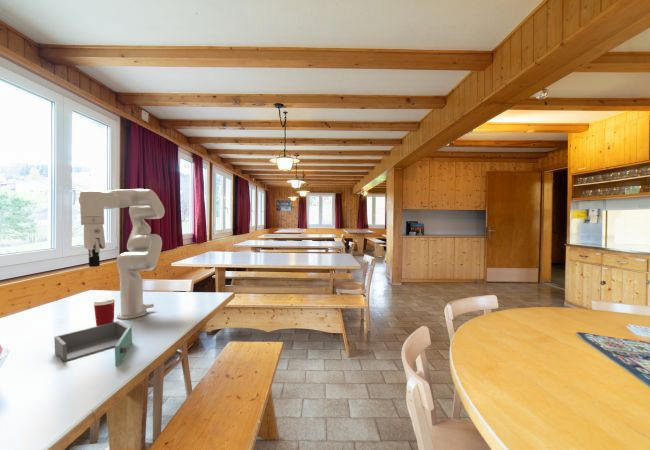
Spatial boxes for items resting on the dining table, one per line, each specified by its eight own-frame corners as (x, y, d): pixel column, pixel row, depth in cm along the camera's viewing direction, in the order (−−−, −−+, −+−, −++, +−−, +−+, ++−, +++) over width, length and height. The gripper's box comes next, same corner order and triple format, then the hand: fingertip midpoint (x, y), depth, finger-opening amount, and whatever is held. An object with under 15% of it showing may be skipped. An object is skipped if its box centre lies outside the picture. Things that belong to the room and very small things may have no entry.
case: (118, 335, 127) (117, 321, 127) (129, 342, 119) (128, 327, 119) (55, 352, 111) (54, 336, 111) (63, 362, 104) (62, 344, 104)
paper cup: (120, 329, 133) (119, 297, 133) (102, 336, 126) (101, 302, 125) (107, 328, 136) (106, 296, 135) (89, 334, 128) (88, 301, 128)
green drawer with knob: (128, 342, 119) (128, 325, 119) (137, 341, 120) (136, 324, 120) (115, 366, 100) (114, 346, 100) (124, 364, 101) (124, 345, 101)
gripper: (110, 221, 122) (111, 266, 123) (97, 221, 131) (99, 263, 132) (86, 221, 116) (88, 269, 117) (75, 221, 125) (77, 266, 126)
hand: (94, 266), depth 124 cm, fingers closed
